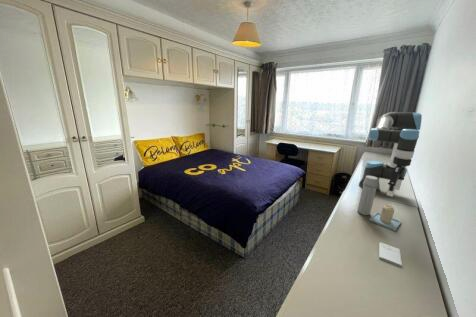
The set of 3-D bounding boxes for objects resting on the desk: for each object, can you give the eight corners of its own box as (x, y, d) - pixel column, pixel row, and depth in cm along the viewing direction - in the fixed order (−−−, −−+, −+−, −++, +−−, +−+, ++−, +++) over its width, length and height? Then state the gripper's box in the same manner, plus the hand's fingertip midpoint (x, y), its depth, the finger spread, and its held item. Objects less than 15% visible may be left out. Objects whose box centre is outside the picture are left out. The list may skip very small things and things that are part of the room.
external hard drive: (378, 259, 89) (378, 244, 99) (401, 268, 84) (399, 251, 94) (379, 256, 89) (379, 241, 98) (402, 265, 84) (400, 248, 94)
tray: (376, 213, 126) (376, 211, 126) (400, 223, 117) (401, 221, 116) (368, 220, 118) (369, 218, 118) (394, 231, 109) (395, 229, 108)
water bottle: (356, 208, 132) (364, 174, 125) (370, 212, 128) (379, 176, 121) (356, 214, 124) (364, 178, 117) (371, 218, 120) (380, 181, 113)
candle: (377, 219, 119) (381, 204, 116) (383, 217, 121) (387, 203, 118) (387, 224, 114) (391, 209, 111) (393, 222, 116) (397, 207, 113)
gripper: (400, 152, 116) (391, 185, 122) (387, 159, 101) (378, 195, 107) (416, 155, 111) (406, 189, 117) (406, 163, 96) (394, 201, 102)
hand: (393, 192), depth 112 cm, fingers open, 13 cm apart
